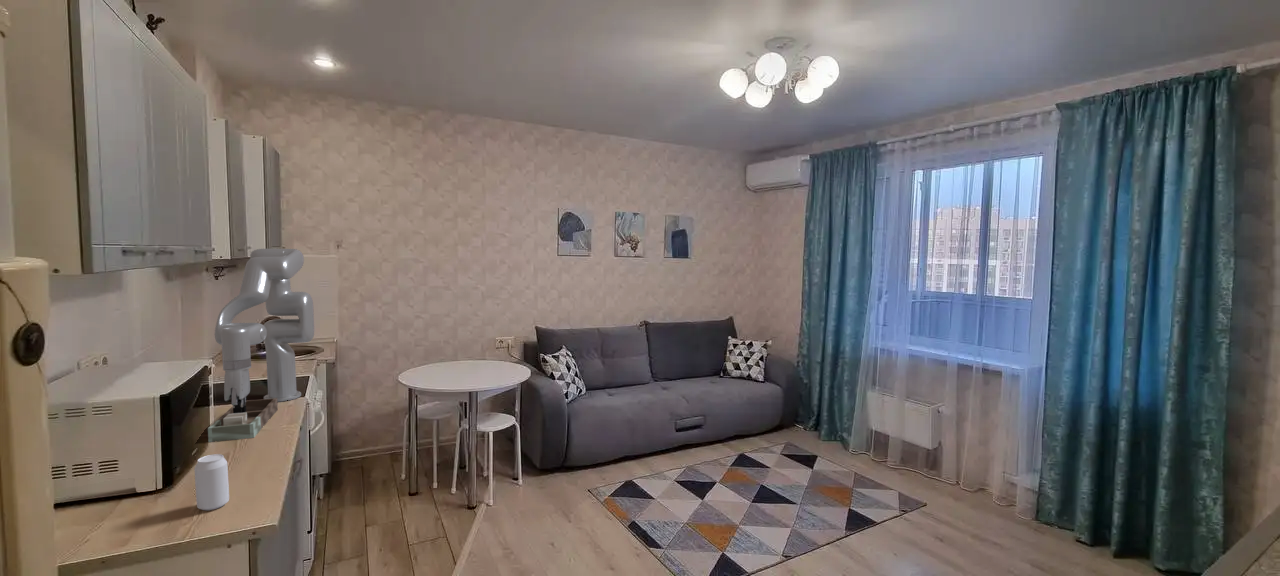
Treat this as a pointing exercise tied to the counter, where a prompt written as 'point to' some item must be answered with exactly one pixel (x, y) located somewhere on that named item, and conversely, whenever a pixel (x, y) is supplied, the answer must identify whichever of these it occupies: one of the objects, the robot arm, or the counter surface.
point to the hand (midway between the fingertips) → (240, 418)
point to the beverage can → (211, 482)
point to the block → (235, 419)
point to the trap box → (256, 420)
